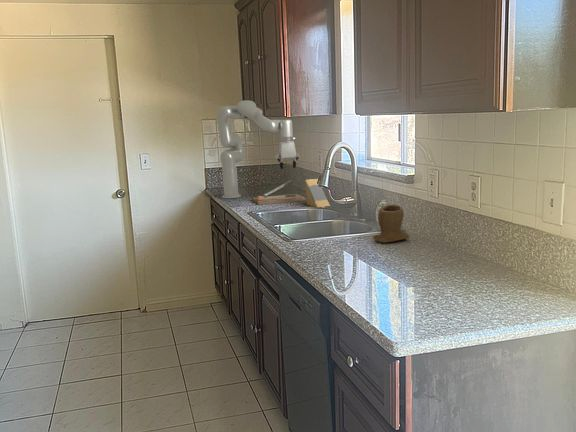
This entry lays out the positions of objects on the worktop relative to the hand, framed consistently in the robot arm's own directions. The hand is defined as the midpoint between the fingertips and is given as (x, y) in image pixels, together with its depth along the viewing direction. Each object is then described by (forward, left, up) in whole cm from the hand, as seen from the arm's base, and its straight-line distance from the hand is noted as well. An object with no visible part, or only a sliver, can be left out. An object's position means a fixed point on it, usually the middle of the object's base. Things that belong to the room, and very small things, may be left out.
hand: (288, 168), depth 359 cm
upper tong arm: (0, -7, -13) cm, 15 cm away
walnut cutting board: (0, -8, -20) cm, 21 cm away
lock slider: (+3, -20, -18) cm, 27 cm away
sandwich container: (+32, +8, -20) cm, 39 cm away
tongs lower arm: (0, -8, -18) cm, 20 cm away
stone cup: (+134, +5, -20) cm, 136 cm away
